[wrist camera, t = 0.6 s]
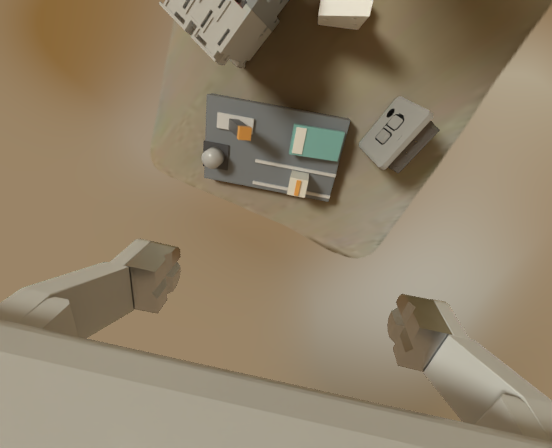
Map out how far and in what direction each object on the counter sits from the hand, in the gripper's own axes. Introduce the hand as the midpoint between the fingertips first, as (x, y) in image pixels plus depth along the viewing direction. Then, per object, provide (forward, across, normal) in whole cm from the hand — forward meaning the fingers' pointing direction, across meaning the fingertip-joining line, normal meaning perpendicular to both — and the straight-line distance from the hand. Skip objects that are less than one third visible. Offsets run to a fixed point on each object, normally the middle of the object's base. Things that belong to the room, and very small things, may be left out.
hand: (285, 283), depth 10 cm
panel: (+41, +5, +5) cm, 42 cm away
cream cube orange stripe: (+39, 0, +9) cm, 40 cm away
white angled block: (+41, -1, -16) cm, 44 cm away
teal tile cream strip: (+37, -2, +2) cm, 37 cm away
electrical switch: (+41, -13, -2) cm, 43 cm away
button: (+38, +15, +7) cm, 42 cm away
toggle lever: (+37, +12, +1) cm, 39 cm away
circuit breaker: (+41, +11, -15) cm, 45 cm away
